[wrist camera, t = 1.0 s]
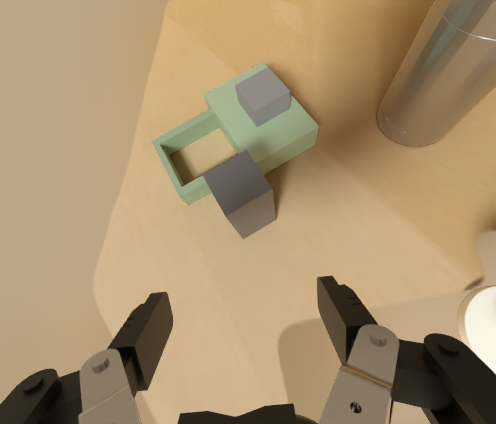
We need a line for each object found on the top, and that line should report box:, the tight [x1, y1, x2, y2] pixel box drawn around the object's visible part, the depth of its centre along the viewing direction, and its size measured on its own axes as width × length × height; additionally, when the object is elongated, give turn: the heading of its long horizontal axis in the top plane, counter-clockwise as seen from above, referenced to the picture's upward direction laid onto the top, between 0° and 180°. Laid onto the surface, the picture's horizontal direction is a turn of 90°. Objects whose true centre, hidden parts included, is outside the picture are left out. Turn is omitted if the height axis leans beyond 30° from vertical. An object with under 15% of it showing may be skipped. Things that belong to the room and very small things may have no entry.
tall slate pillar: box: [203, 150, 276, 239], centre depth 27 cm, size 5×5×10 cm
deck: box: [152, 62, 319, 205], centre depth 32 cm, size 20×14×7 cm
